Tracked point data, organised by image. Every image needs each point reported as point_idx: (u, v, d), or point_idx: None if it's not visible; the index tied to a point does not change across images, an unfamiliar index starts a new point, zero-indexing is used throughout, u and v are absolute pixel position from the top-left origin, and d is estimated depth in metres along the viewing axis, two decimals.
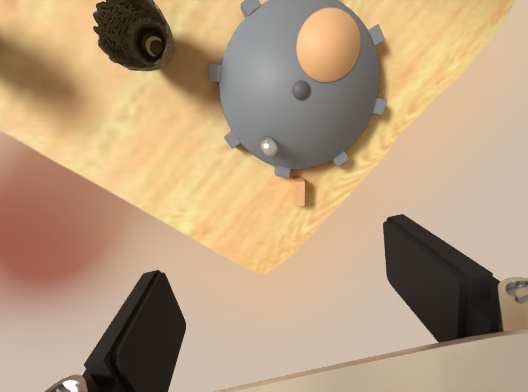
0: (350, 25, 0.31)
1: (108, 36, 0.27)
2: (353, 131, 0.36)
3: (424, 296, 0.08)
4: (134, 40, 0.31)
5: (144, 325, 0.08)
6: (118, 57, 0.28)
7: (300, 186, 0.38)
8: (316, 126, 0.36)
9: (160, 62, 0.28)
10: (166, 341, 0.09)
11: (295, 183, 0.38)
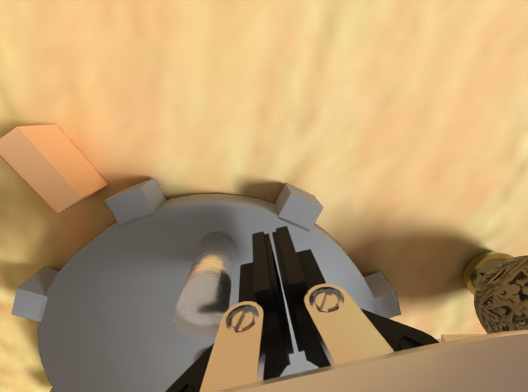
0: None
1: None
2: (61, 358, 0.16)
3: None
4: None
5: (275, 271, 0.09)
6: None
7: (56, 195, 0.12)
8: (140, 329, 0.15)
9: None
10: (281, 291, 0.10)
11: (77, 195, 0.12)
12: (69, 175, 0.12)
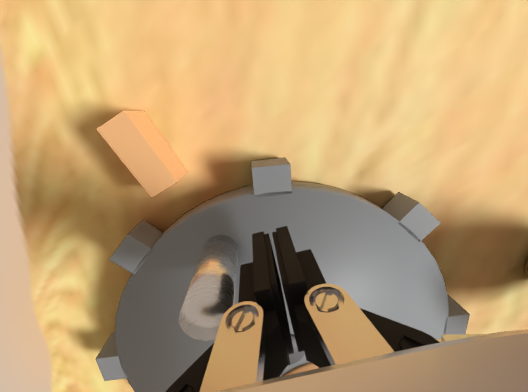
0: None
1: None
2: None
3: None
4: None
5: (275, 271, 0.09)
6: None
7: (152, 179, 0.12)
8: (204, 349, 0.16)
9: None
10: (281, 291, 0.10)
11: (171, 179, 0.13)
12: (164, 160, 0.13)
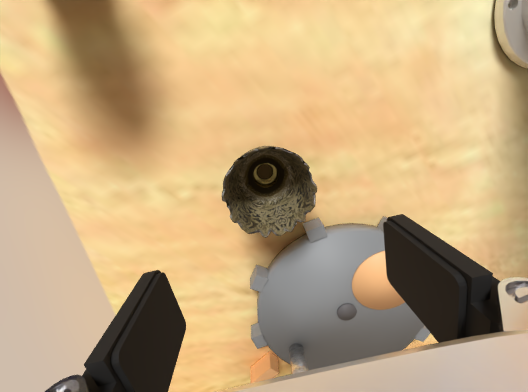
0: None
1: (239, 161, 0.20)
2: (389, 351, 0.33)
3: (424, 296, 0.08)
4: (254, 159, 0.24)
5: (144, 325, 0.08)
6: (229, 186, 0.21)
7: (271, 374, 0.34)
8: (352, 342, 0.32)
9: None
10: (166, 341, 0.09)
11: (269, 368, 0.33)
12: (264, 369, 0.34)
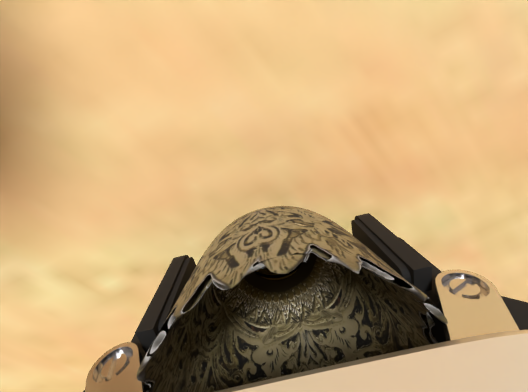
0: None
1: None
2: None
3: None
4: None
5: None
6: (177, 338, 0.07)
7: None
8: None
9: None
10: None
11: None
12: None
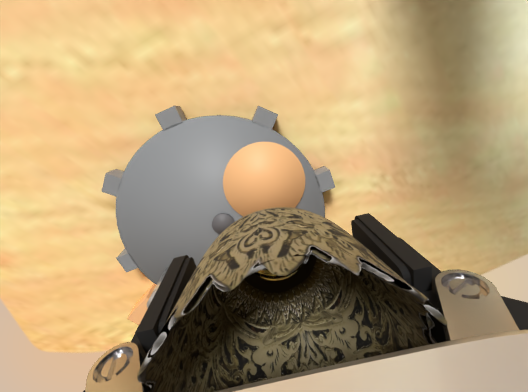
0: (294, 166, 0.25)
1: None
2: None
3: None
4: None
5: None
6: (177, 339, 0.07)
7: None
8: None
9: None
10: None
11: (146, 298, 0.29)
12: (141, 301, 0.29)
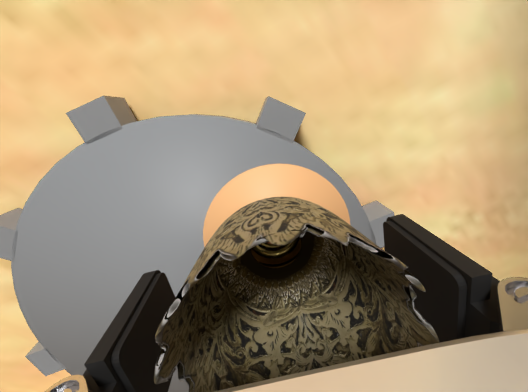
0: (332, 207, 0.14)
1: None
2: None
3: (424, 296, 0.08)
4: None
5: (144, 325, 0.08)
6: (187, 313, 0.08)
7: None
8: None
9: None
10: None
11: None
12: None
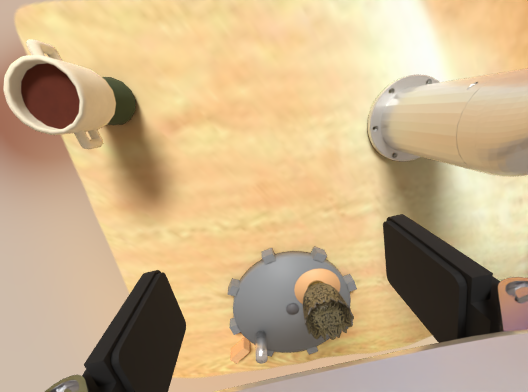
0: (334, 280, 0.45)
1: None
2: None
3: (424, 296, 0.08)
4: None
5: (144, 325, 0.08)
6: None
7: (244, 352, 0.49)
8: (298, 329, 0.48)
9: (323, 334, 0.39)
10: (166, 341, 0.09)
11: (243, 348, 0.49)
12: (239, 349, 0.49)
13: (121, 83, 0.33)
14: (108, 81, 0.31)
